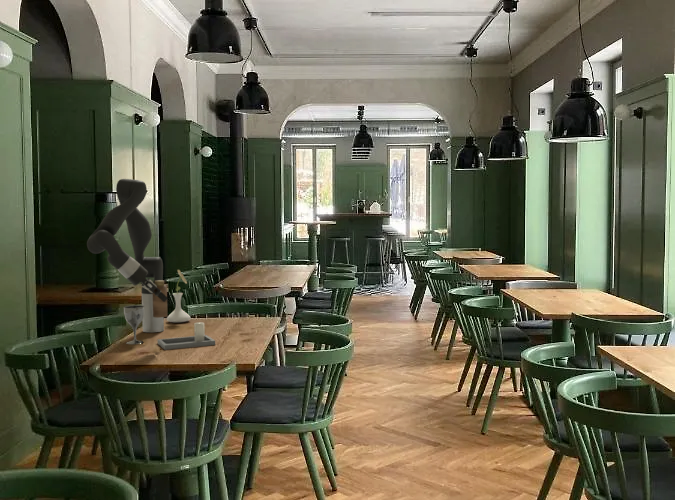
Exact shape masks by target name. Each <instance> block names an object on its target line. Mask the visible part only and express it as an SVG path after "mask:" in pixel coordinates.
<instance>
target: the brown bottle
mask: <svg viewBox="0 0 675 500" xmlns="http://www.w3.org/2000/svg"><path fill="white" fill-rule="evenodd" d="M155 285H156V286H157V288H158V289H160V290H161V292H162V293H163V294H164V295H165V296H166V297H167V298H168V291H167V290H168V288H167V287H168V286H167V285H165V280H158V281H155ZM156 291H157V289H155V290H154V292H156ZM152 295H153V317H157V318H160V317H164V318H167V317H168V316H169V315H168V314H169V313H168V299H167V300H166V301H165V302H163V301H162V300H161V299H160V298H159V297H158V296H156V295H155V294H154V293H152Z"/></svg>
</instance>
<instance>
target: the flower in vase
mask: <svg viewBox="0 0 675 500" xmlns="http://www.w3.org/2000/svg"><path fill="white" fill-rule="evenodd" d="M177 273H178V275H179V279H178V281H177V282H176V283H177V284H176V288H175V291H176V292H174V293H172V296H173V297H174V301H175V309H174V310H173V311H172V312H171V313H170V314H169V315H168V316H167V317H166V321H167V322H170V323H184V322H188V321H190V320H191V319H192V318H191V316H190V315H189V314H188V313H187V312H186V311H184V310H183V309H182V305H181V300H182V296H183V294H184V293H183V292H179V291H180V290H181V287H180V286H179V282H180V280H182V282H183V283H185V285H186V284H188V281H187V279H186V278H185V276H184V274H183V273H182V272H181V270H180V269H177Z"/></svg>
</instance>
